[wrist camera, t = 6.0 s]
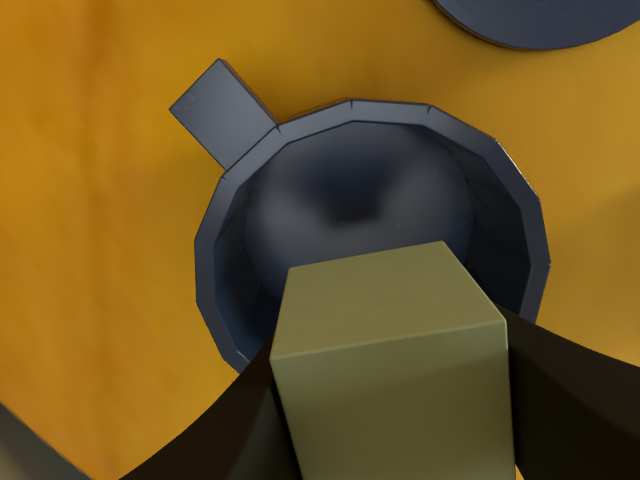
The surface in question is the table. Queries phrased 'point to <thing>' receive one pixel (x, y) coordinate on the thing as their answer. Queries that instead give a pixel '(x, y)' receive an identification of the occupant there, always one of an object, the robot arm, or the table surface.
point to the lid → (541, 21)
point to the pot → (348, 201)
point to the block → (394, 369)
